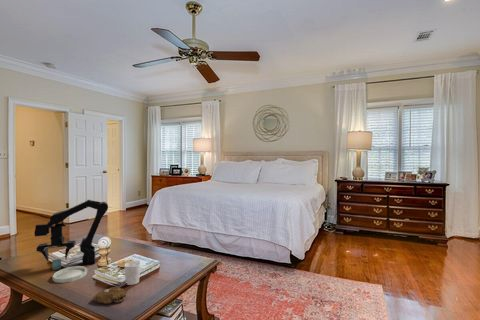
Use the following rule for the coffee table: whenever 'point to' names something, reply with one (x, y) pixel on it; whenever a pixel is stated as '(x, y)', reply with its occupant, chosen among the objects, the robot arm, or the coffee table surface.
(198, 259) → the coffee table surface
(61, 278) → the ceramic dish
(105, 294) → the decorative rock
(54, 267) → the bead
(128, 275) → the white cup
